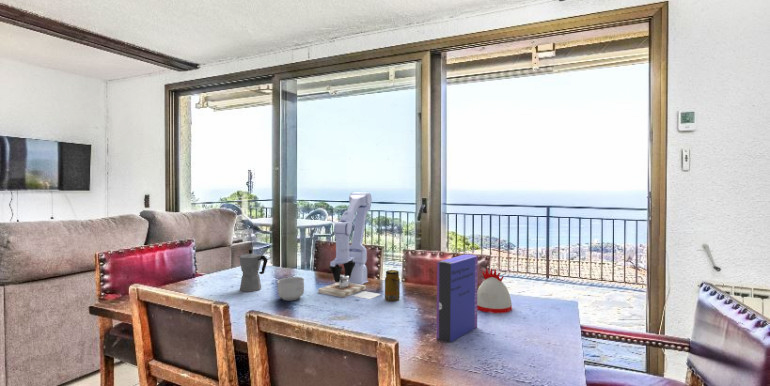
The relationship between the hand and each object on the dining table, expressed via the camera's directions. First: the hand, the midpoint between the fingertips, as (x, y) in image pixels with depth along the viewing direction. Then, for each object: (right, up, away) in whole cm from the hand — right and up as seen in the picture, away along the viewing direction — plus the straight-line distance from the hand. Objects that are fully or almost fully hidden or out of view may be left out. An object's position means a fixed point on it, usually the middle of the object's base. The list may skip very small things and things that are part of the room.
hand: (342, 280), depth 182 cm
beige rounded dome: (+60, -6, -22) cm, 65 cm away
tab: (+11, -5, -7) cm, 14 cm away
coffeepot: (-41, -5, +3) cm, 41 cm away
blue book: (+42, -7, -50) cm, 65 cm away
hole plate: (0, -5, 0) cm, 5 cm away
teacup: (-20, -6, -10) cm, 23 cm away
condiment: (+22, -6, -14) cm, 27 cm away
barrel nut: (0, -5, 0) cm, 5 cm away
